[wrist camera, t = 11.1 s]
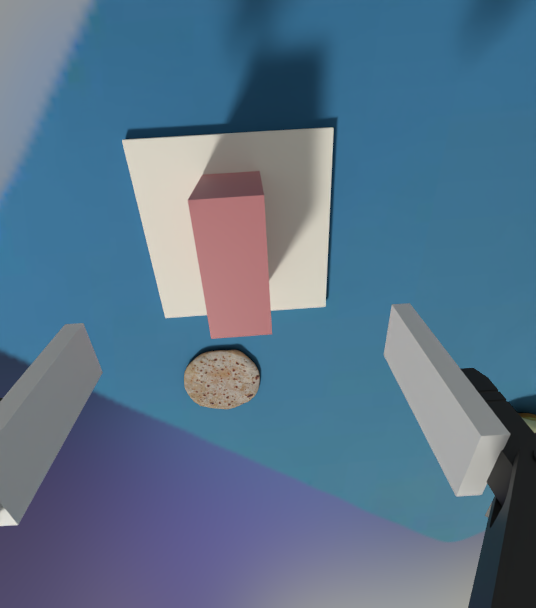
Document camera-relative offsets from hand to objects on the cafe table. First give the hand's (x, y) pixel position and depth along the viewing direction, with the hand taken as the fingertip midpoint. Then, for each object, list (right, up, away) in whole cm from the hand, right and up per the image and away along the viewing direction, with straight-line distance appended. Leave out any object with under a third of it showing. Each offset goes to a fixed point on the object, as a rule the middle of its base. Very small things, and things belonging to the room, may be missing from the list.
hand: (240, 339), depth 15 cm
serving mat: (-1, +7, +12) cm, 14 cm away
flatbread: (-3, -6, +20) cm, 21 cm away
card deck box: (-1, +7, +11) cm, 13 cm away
